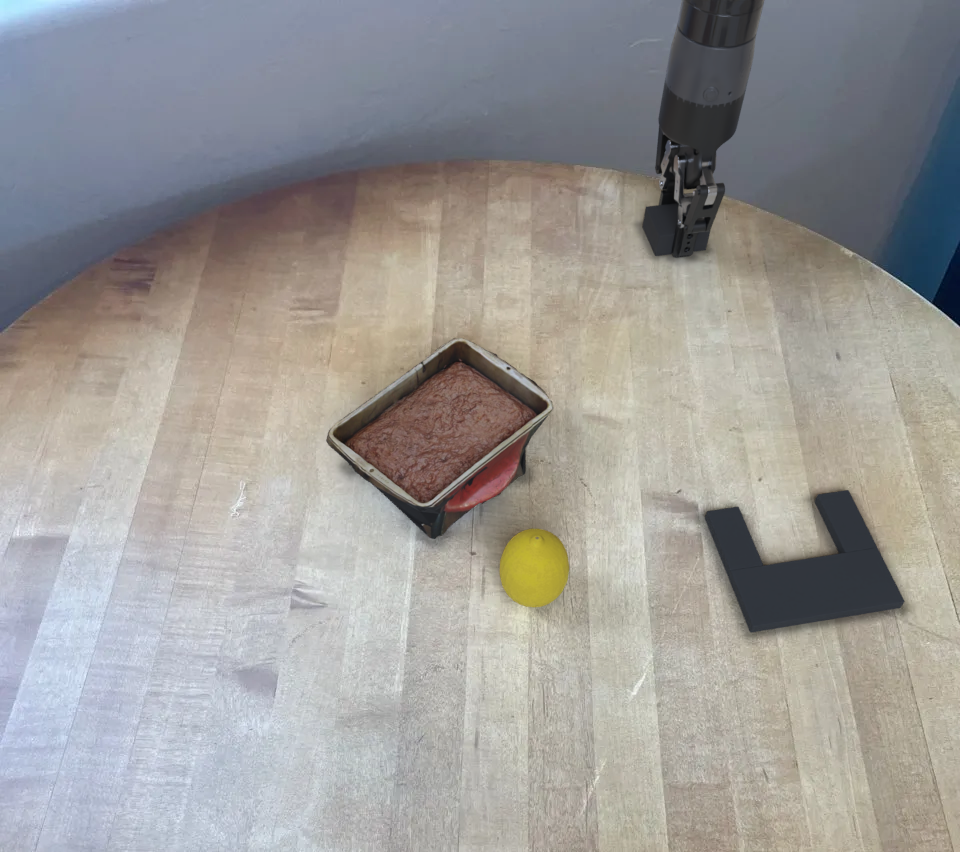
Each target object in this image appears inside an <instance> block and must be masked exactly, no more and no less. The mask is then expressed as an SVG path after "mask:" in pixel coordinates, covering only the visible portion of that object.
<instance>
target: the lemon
mask: <svg viewBox="0 0 960 852" xmlns="http://www.w3.org/2000/svg"><path fill="white" fill-rule="evenodd" d="M569 574H570V561H569V555H568V552H567V549H566V547H565V545H564V543H563V542H562V541H561V539H560V538H559V537H558V536H557V535H556V534H554V533H553V532H552V531H549V530H546V529H543V528H527V529H524V530H521V531H520V532H518V533H516V534H515V535H513V536H512V538H511V539H509V540H508V542H507V544H506V545H505V547H504V549H503V552H502V554H501V556H500V560H499V579H500V583H501V586H502V588H503V590H504V592H505V593H506V595H507V596H508V597H509V599H511V600H512V601H513V602H515V603H517V604H518V605H521V606H523V607H527V608H541V607H544V606H548V605H550V604H551V603H553V602H554V601H555V600H556V599H557V598H559V597H560V595H561V594H562V593H563V591H564V589H565V587H566V585H567V583H568V580H569Z"/></svg>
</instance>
